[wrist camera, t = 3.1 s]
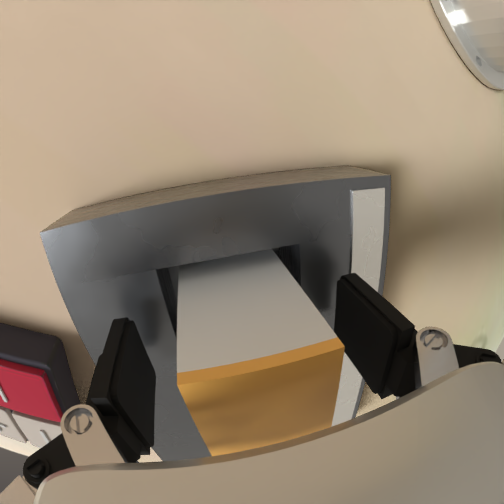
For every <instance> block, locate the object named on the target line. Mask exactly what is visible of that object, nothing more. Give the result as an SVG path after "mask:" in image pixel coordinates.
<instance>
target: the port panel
mask: <svg viewBox="0 0 504 504" xmlns="http://www.w3.org/2000/svg"><path fill="white" fill-rule="evenodd" d="M390 197H391V175H388V174H384V173H380V172H376V171H371V170H367V169H362V168H358V167H353V166H337V167H323V168H311V169H300V170H290V171H281V172H272V173H264V174H256V175H248V176H240V177H233V178H227V179H220V180H213V181H207V182H201V183H195V184H189V185H184V186H178V187H173V188H168V189H162V190H157V191H152V192H147V193H143V194H138V195H133V196H129V197H124V198H120V199H116V200H111V201H107V202H103V203H99V204H95V205H91V206H87V207H83V208H79V209H76V210H72V211H70V212H69V213H67V214H66V215H64V216H63V217H62V218H60V219H59V220H57V221H56V222H54V223H53V224H51V225H50V226H49V227H47V228H46V229H44V230H43V231H42V232H40V235H41V238H42V242H43V245H44V248H45V251H46V254H47V258H48V260H49V263H50V266H51V269H52V272H53V275H54V277H55V280H56V283H57V285H58V288H59V290H60V293H61V295H62V298H63V300H64V302H65V305H66V307H67V309H68V312H69V314H70V316H71V318H72V320H73V323H74V325H75V327H76V329H77V331H78V333H79V335H80V337H81V339H82V341H83V343H84V345H85V347H86V349H87V351H88V353H89V354H90V356H91V358H92V360H93V362H94V363H95V365H96V364H97V361H98V358H99V356H100V355H101V354H102V353H103V349H104V346H105V343H106V340H107V337H108V334H109V331H110V327H111V324H112V322H113V320H114V319H118V318H125V317H127V318H129V320H130V321H131V320H133V321H134V322H135V325H136V327H137V330H138V332H139V335H140V337H141V340H142V342H143V345H144V347H145V349H146V352H147V354H148V356H149V359H150V361H151V363H152V365H153V368H154V370H155V373H156V389H155V417H154V446H153V447H152V449H153V450H154V451H155V452H156V454H157V455H158V456H159V457H160V458H161V459H162V461H175V460H186V459H195V458H203V457H211V456H212V455H211V453H210V451H209V450H208V448H207V446H206V444H205V442H204V440H203V438H202V436H201V434H200V433H199V431H198V429H197V427H196V425H195V423H194V420H193V418H192V416H191V414H190V412H189V410H188V408H187V406H186V404H185V402H184V399H183V397H182V395H181V393H180V390H179V388H178V386H177V305H178V280H179V265H184V264H189V263H195V262H200V261H206V260H212V259H217V258H223V257H228V256H234V255H239V254H245V253H250V252H256V251H261V250H267V249H272V250H273V251H274V252H275V254H276V255H277V256H278V258H279V259H280V260H281V262H282V263H283V264H284V266H285V267H286V268H287V270H288V271H289V272H290V274H291V275H292V276H293V278H294V279H295V280H296V282H297V283H298V284H299V286H300V287H301V288H302V290H303V291H304V292H305V294H306V295H307V296H308V298H309V299H310V300H311V302H312V303H313V304H314V306H315V307H316V308H317V310H318V311H319V312H320V314H321V315H322V316H323V318H324V319H325V320H326V322H327V323H328V324H329V326H330V327H331V329H332V330H333V331H334V323H335V308H336V289H337V281H338V280H340V278H341V276H342V275H346V274H350V273H356V274H357V275H358V276H360V277H361V278H362V279H363V280H364V281H365V282H367V283H368V284H369V285H370V286H371V287H372V288H373V289H375V290H376V291H377V292H378V293H379V294H380V295H381V296H382V294H383V287H384V279H385V271H386V261H387V251H388V238H389V223H390ZM364 385H365V380H364V379H363V377H362V376H361V375H360V373H359V372H358V370H357V369H356V367H355V366H354V365H353V363H352V362H351V360H350V359H349V358H348V356H347V355H346V353H345V352H344V356H343V364H342V370H341V377H340V383H339V389H338V395H337V400H336V406H335V411H334V416H333V421H332V426H335V425H338V424H340V423H343V422H346V421H348V420H351V419H353V418H355V417H356V413H357V410H358V407H359V403H360V400H361V396H362V392H363V389H364ZM332 426H331V427H332Z"/></svg>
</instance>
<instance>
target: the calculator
mask: <svg viewBox="0 0 504 504" xmlns="http://www.w3.org/2000/svg"><path fill="white" fill-rule="evenodd" d="M75 405H80V401H79V398H78V395H77V392H76V389H75V386H74V382H73V379H72V376H71V372H70V369H69V365H68V361H67V358H66V354H65V350H64V346H63V342H62V340H61V339H60V338H58V337H56V336H52V335H48V334H43V333H39V332H35V331H30V330H26V329H22V328H18V327H15V326H11V325H7V324H3V323H0V435H3V436H6V437H8V438H11V439H14V440H17V441H20V442H23V443H26V442H27V441H29V442H30V443H31V444H32V445H33V446H36V447H39V448H42V447H43V446H45V445H46V444H47V443H49V442H50V441H52V440H53V439H54V438H56V437H57V436H58V435H60V434H61V433H62V431H61V426H60V423H61V418H62V416H63V414H64V413H65V412H66V411H67V410H68V409H69V408H71V407H73V406H75Z"/></svg>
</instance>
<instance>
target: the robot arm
mask: <svg viewBox="0 0 504 504" xmlns="http://www.w3.org/2000/svg"><path fill="white" fill-rule="evenodd" d="M430 1H431V3H432V6H433V8H434V11H435V13H436V15H437V17H438V19H439V21H440V23H441V25H442V27H443V29H444V31H445V33H446V34H447V36H448V38H449V40H450V42H451V43H452V45H453V46H454V48H455V50H456V51H457V53H458V54H459V56H460V57H461V59H462V60H463V61H464V63H465V64H466V66H467V67H468V68H469V69H470V71H471V72H472V73H473V74H474V75H475V76H476V77H477V78H478V79H479V80H480V81H481V82H482V83H483V84H485V85H486V86H488V87H489V88H492V89H495V90H504V0H430ZM414 328H415V326H414V325H413V324H412V323H411V322H410V321H409V320H408V319H407V318H406V317H405V316H404V315H402V314H401V313H400V312H399V311H398V310H397V309H396V308H395V307H394V306H393V305H391V304H390V303H389V302H388V301H387V300H386V299H385V298H384V297H382V296H381V295H380V294H379V293H378V292H377V291H376V290H375V289H373V288H372V287H371V286H370V285H369V284H368V283H367V282H365V281H364V280H363V279H362V278H361V277H360V276H358V275H357V274H356V273H350V274H346V275H342V276H341V278H340V280H338V281H337V289H336V308H335V323H334V333H335V334H336V335H337V337H338V338H339V339H340V341H341V342H342V343H343V345H344V346H345V349H344V352H345V353H346V355H347V356H348V358H349V359H350V360H351V362H352V363H353V365H354V366H355V367H356V369H357V370H358V372H359V373H360V375H361V376H362V377H363V379H364V380H365V382H366V383H367V384H368V386H369V387H370V389H371V390H372V392H373V393H375V394H376V393H378V395H379V396H380V397H381V399H383V398H385V397H387V396H390V395H392V394H394V396H396V400H394V401H392V402H390V403H388V404H386V405H384V406H382V407H379V408H377V409H375V410H373V411H370V412H368V413H366V414H363V415H361V416H358V417H356V418H353V419H351V420H348V421H346V422H343V423H340V424H338V425H335V426H332V427H329V428H326V429H323V430H320V431H317V432H314V433H311V434H308V435H305V436H301V437H298V438H295V439H291V440H288V441H284V442H280V443H276V444H272V445H268V446H264V447H259V448H255V449H250V450H245V451H240V452H235V453H230V454H224V455H217V456H211V457H203V458H195V459H186V460H175V461H162V462H144V463H139V462H138V461H137V460H138V459H140V455H150V447H153V446H154V417H155V389H156V373H155V370H154V368H153V365H152V363H151V361H150V359H149V356H148V354H147V352H146V349H145V347H144V345H143V342H142V340H141V337H140V335H139V332H138V330H137V327H136V325H135V322H134V321H133V320H131V321H130V320H129V318H127V317H125V318H118V319H114V320H113V322H112V324H111V327H110V331H109V334H108V337H107V340H106V343H105V346H104V349H103V353H102V354H101V355H100V356H99V358H98V361H97V364H96V368H95V371H94V375H93V378H92V382H91V386H90V389H89V393H88V397H87V401H86V405H85V404H80V405H75V406H73V407H71V408H69V409H68V410H67V411H66V412H65V413H64V414H63V416H62V418H61V423H60V426H61V431H62V433H61V434H60V435H58V436H57V437H56V438H54V439H53V440H52V441H50V442H49V443H47V444H46V445H45V446H43V447H42V448H41V449H39V450H38V451H36V452H35V453H34V454H32V455H31V456H30V457H29V458H28V459H27V460H26V462H25V463H24V467H23V475H24V476H23V477H21V476H20V475H19V476H18V477H17V478H16V479H15V480H14V481H13V482H12V483H11V484H10V485H9V486H8V487H7V488H6V489H5V490H4V491H3V492H2V493H1V494H0V504H504V359H503V361H502V362H501V359H500V358H499V356H498V355H497V354H496V353H495V352H493V351H491V350H488V349H482V348H475V347H468V346H461V345H455V344H453V342H452V339H451V337H450V335H449V334H448V333H447V332H446V331H444V330H442V329H440V328H437V327H425V328H422V329H421V330H419V331H418V332H417V331H416V330H415V329H414Z"/></svg>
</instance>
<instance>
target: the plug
mask: <svg viewBox="0 0 504 504" xmlns="http://www.w3.org/2000/svg"><path fill="white" fill-rule="evenodd" d="M344 349H345V346H344V345H343V343H342V342H341V341H340V339H339V338H338V337H337V335H336V334H335V333H334V331H333V330H332V329H331V327H330V326H329V324H328V323H327V322H326V320H325V319H324V318H323V316H322V315H321V314H320V312H319V311H318V310H317V308H316V307H315V306H314V304H313V303H312V302H311V300H310V299H309V298H308V296H307V295H306V294H305V292H304V291H303V290H302V288H301V287H300V286H299V284H298V283H297V282H296V280H295V279H294V278H293V276H292V275H291V274H290V272H289V271H288V270H287V268H286V267H285V266H284V264H283V263H282V262H281V260H280V259H279V258H278V256H277V255H276V254H275V252H274V251H273V250H272V249H267V250H261V251H256V252H250V253H245V254H239V255H234V256H228V257H223V258H217V259H212V260H206V261H200V262H195V263H189V264H184V265H179V280H178V305H177V386H178V388H179V390H180V393H181V395H182V397H183V399H184V402H185V404H186V406H187V408H188V410H189V412H190V414H191V416H192V418H193V420H194V423H195V425H196V427H197V429H198V431H199V433H200V434H201V436H202V438H203V440H204V442H205V444H206V446H207V448H208V450H209V451H210V453H211V455H212V456H217V455H224V454H230V453H235V452H240V451H245V450H250V449H255V448H259V447H264V446H268V445H272V444H276V443H280V442H284V441H288V440H291V439H295V438H298V437H301V436H305V435H308V434H311V433H314V432H317V431H320V430H323V429H326V428H329V427H331V426H332V421H333V416H334V411H335V406H336V400H337V395H338V389H339V383H340V377H341V370H342V364H343V356H344Z"/></svg>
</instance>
